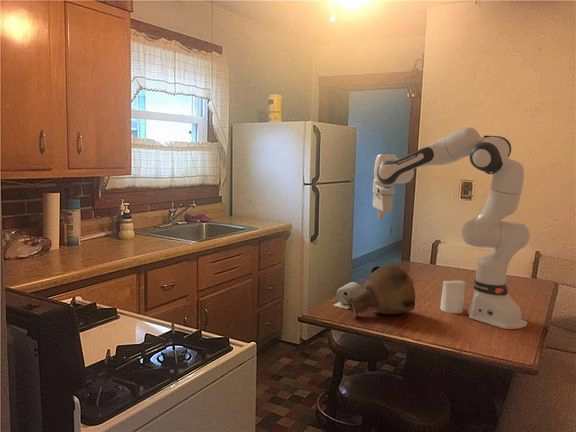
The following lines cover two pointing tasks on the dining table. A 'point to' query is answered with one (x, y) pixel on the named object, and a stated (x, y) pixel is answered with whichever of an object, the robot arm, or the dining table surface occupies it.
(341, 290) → the can
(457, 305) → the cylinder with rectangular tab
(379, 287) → the jug
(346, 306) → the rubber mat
